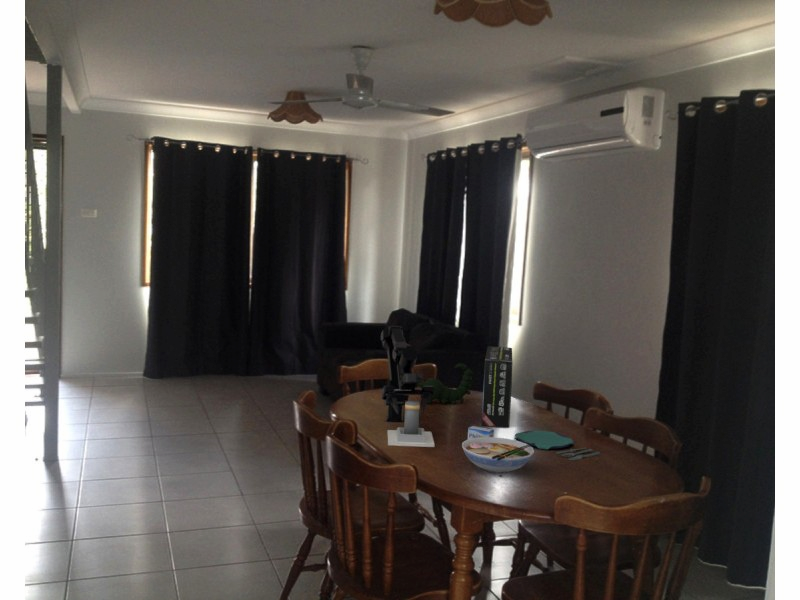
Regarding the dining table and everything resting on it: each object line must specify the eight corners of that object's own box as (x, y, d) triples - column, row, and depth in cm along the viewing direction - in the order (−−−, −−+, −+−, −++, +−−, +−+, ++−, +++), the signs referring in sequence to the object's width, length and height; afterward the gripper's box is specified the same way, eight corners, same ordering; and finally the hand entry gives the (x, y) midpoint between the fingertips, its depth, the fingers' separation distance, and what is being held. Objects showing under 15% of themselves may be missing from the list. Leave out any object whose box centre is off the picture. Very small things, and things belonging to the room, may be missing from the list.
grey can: (407, 435, 259) (408, 399, 258) (420, 437, 257) (422, 401, 256) (401, 438, 254) (402, 402, 253) (414, 441, 252) (416, 404, 251)
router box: (483, 405, 316) (487, 345, 313) (508, 407, 314) (512, 347, 312) (480, 426, 280) (484, 358, 278) (509, 429, 279) (513, 360, 277)
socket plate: (387, 432, 265) (388, 423, 265) (431, 434, 266) (431, 425, 265) (388, 445, 249) (388, 435, 249) (434, 447, 250) (434, 437, 249)
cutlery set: (544, 433, 276) (544, 427, 276) (605, 456, 251) (605, 450, 251) (504, 439, 265) (505, 433, 265) (563, 464, 240) (564, 457, 240)
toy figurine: (463, 404, 324) (410, 400, 317) (469, 362, 323) (416, 357, 316) (471, 409, 315) (416, 405, 308) (477, 366, 314) (423, 361, 307)
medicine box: (466, 452, 245) (467, 427, 244) (471, 449, 249) (472, 425, 248) (488, 457, 241) (489, 431, 241) (492, 453, 245) (494, 428, 245)
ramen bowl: (487, 453, 245) (488, 430, 244) (547, 469, 231) (549, 444, 230) (443, 469, 226) (445, 444, 225) (507, 488, 211) (508, 461, 211)
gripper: (384, 363, 258) (388, 401, 248) (435, 364, 262) (441, 401, 252) (379, 380, 266) (383, 417, 257) (428, 380, 270) (434, 417, 260)
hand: (410, 413), depth 256 cm, fingers open, 9 cm apart
